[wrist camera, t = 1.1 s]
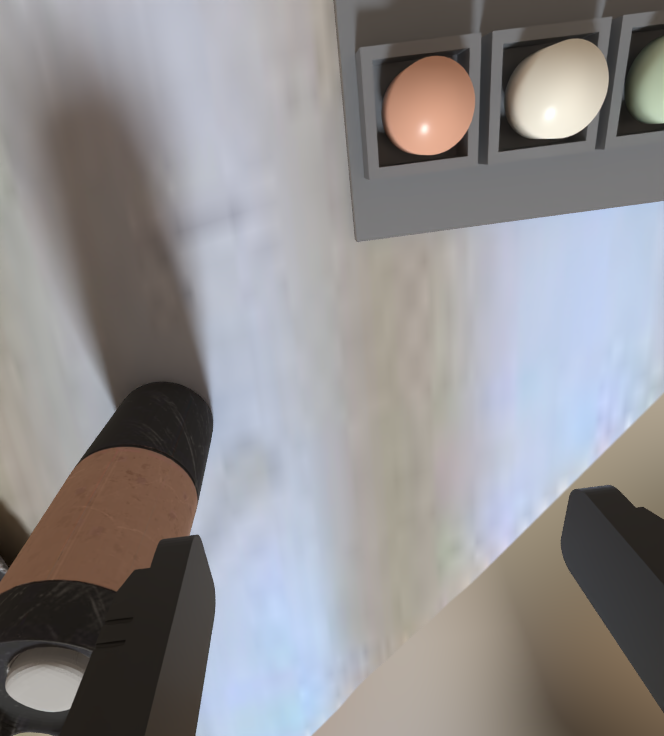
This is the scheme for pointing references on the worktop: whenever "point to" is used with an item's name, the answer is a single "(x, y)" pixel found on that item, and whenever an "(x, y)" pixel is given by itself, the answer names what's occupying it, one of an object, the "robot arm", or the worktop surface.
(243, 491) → the worktop surface
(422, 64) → the terracotta button
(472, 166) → the button panel
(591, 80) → the cream button
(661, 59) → the sage button
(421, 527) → the worktop surface
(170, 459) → the travel mug
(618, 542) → the robot arm
